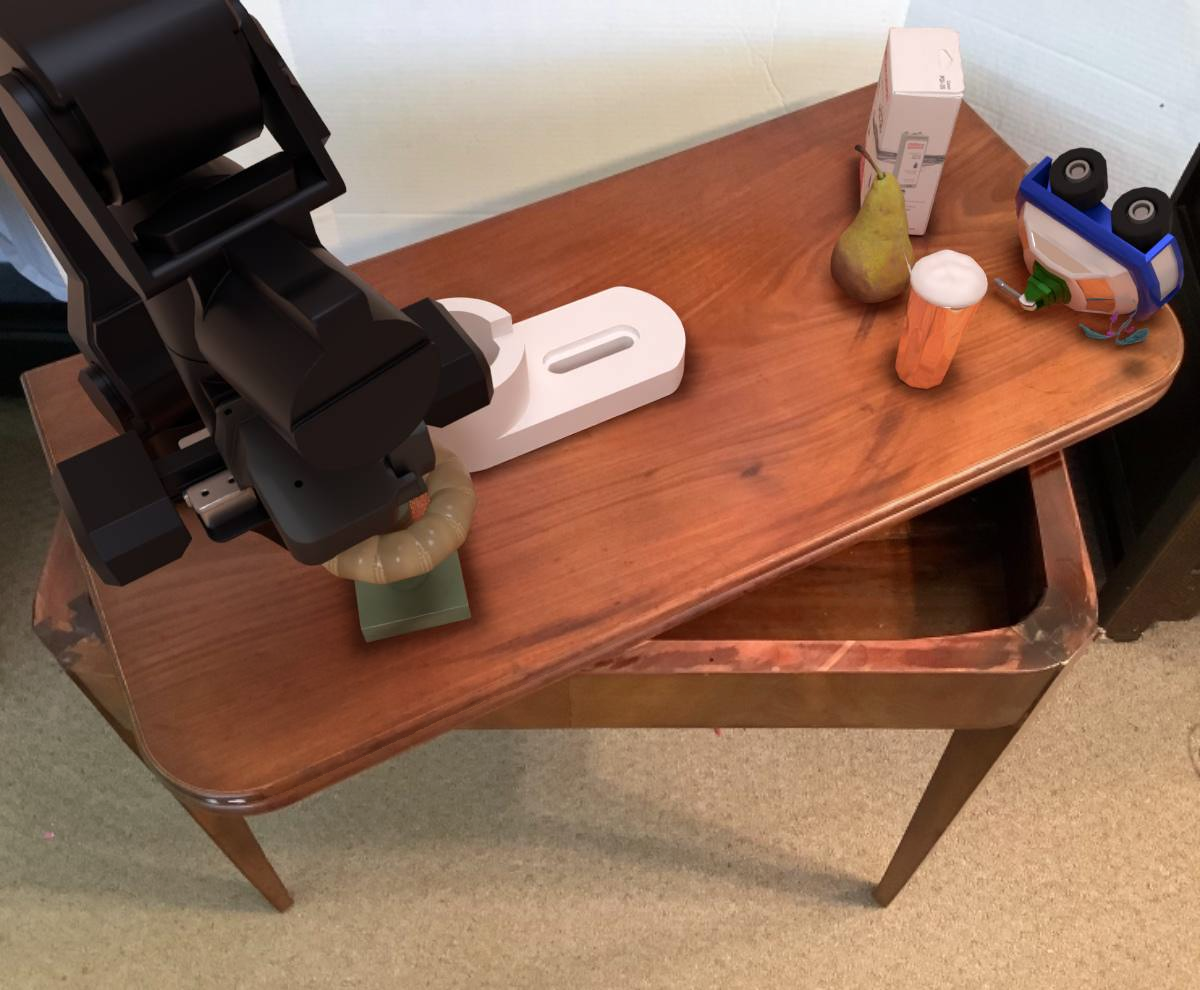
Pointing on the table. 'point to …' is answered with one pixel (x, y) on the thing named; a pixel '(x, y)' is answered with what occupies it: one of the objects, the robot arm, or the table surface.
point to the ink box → (914, 116)
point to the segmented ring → (417, 530)
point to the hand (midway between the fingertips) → (326, 537)
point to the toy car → (1093, 240)
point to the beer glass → (937, 315)
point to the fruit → (875, 244)
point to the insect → (1129, 340)
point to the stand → (412, 596)
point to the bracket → (563, 370)
